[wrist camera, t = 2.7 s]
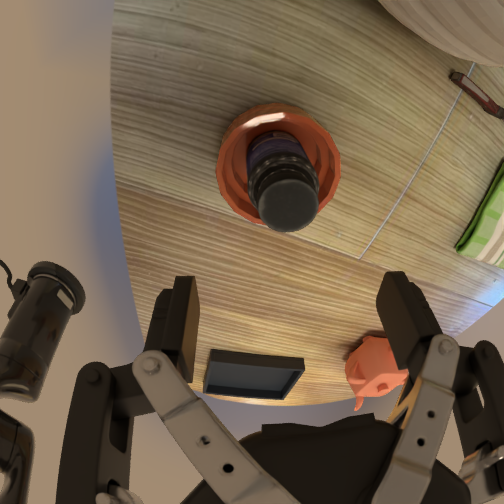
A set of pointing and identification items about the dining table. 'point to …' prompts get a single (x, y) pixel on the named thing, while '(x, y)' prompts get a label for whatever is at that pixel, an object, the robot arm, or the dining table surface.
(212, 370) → the tray
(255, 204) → the pill bottle
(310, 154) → the bowl
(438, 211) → the dining table surface
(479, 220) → the dish towel
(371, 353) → the teapot
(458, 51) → the table lamp
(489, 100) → the knife
